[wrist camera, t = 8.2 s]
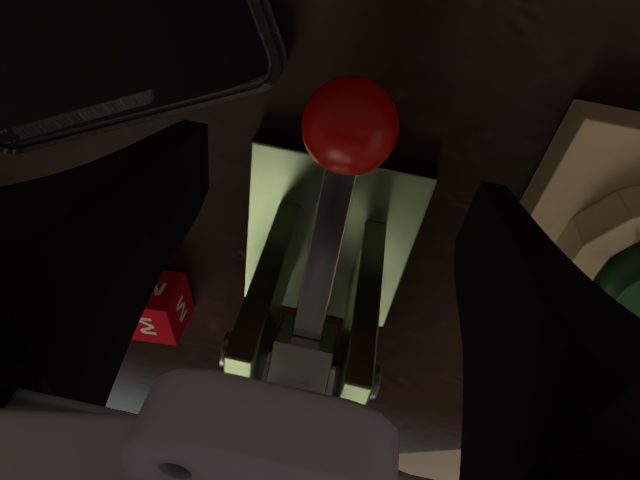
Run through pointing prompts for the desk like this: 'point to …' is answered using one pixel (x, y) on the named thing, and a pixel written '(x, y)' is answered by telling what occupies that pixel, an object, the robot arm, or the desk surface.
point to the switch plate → (590, 185)
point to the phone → (126, 63)
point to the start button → (624, 278)
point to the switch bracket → (353, 265)
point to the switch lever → (331, 218)
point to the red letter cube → (166, 310)
